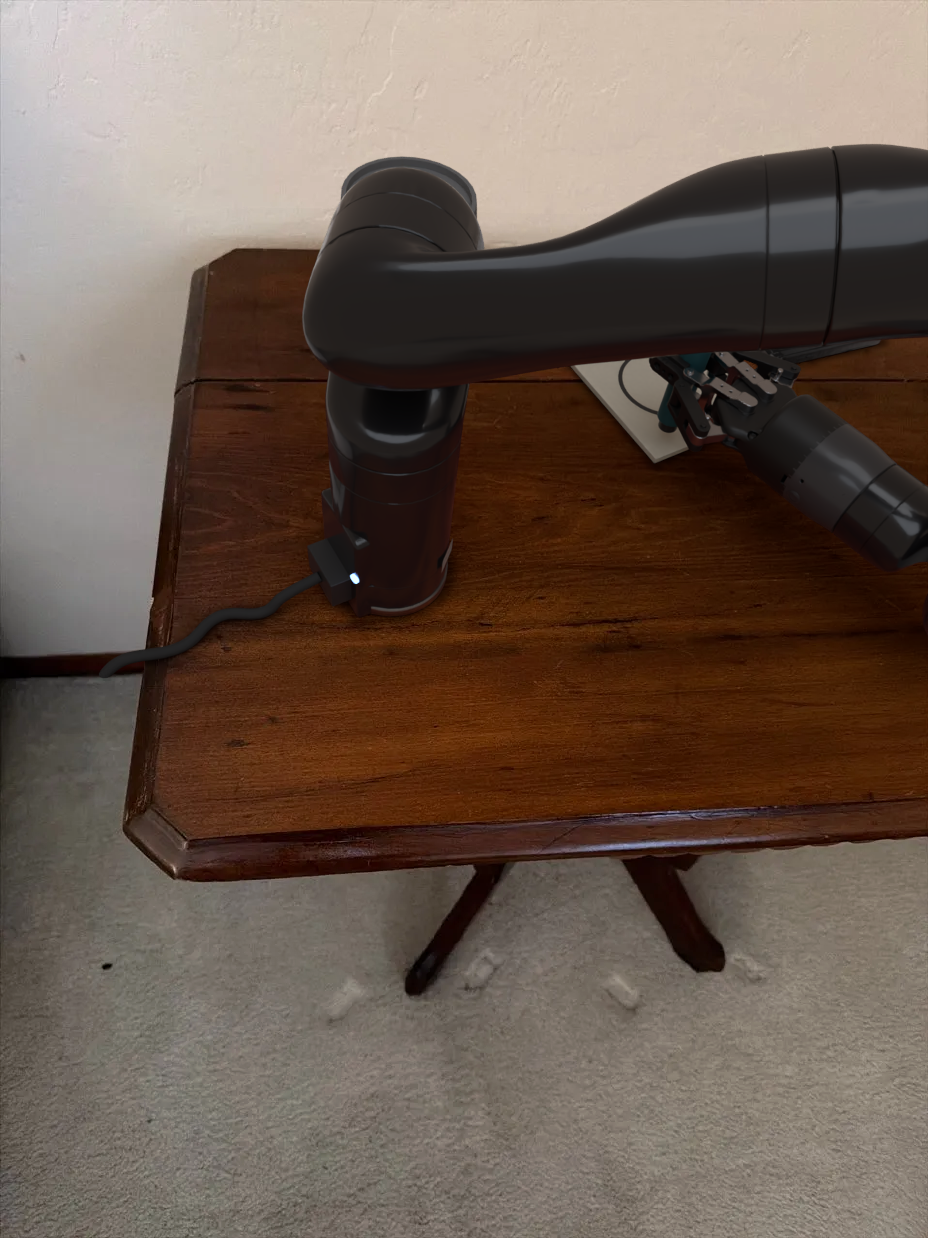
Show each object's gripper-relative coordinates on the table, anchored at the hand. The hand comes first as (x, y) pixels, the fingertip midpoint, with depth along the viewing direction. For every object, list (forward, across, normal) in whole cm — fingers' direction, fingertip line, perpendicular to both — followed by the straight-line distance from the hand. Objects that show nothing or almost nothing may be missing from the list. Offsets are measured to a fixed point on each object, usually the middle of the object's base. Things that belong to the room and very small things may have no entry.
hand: (666, 345), depth 78 cm
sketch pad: (+2, -6, +10) cm, 12 cm away
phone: (-1, -26, +10) cm, 27 cm away
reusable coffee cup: (+23, +11, +10) cm, 28 cm away
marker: (-3, 0, +8) cm, 8 cm away
